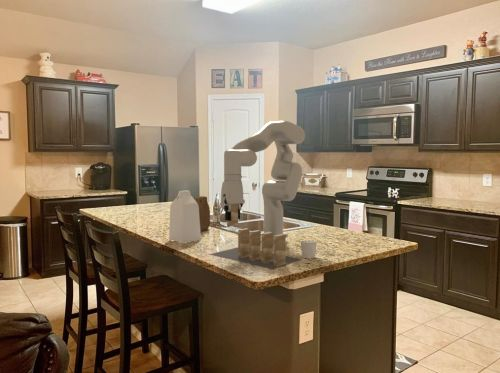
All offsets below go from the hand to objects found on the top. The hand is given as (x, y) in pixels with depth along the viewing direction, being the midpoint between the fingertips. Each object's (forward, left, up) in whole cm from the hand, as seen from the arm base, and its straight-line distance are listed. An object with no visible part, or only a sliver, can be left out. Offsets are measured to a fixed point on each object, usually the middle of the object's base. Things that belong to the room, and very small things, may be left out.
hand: (232, 219), depth 180 cm
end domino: (0, 0, -3) cm, 3 cm away
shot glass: (-19, +27, -17) cm, 37 cm away
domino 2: (0, +13, -16) cm, 20 cm away
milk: (-7, -42, -17) cm, 46 cm away
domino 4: (0, +26, -16) cm, 30 cm away
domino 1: (0, +6, -16) cm, 17 cm away
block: (-32, -58, -17) cm, 68 cm away
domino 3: (0, +19, -16) cm, 25 cm away
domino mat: (-3, +10, -16) cm, 19 cm away
